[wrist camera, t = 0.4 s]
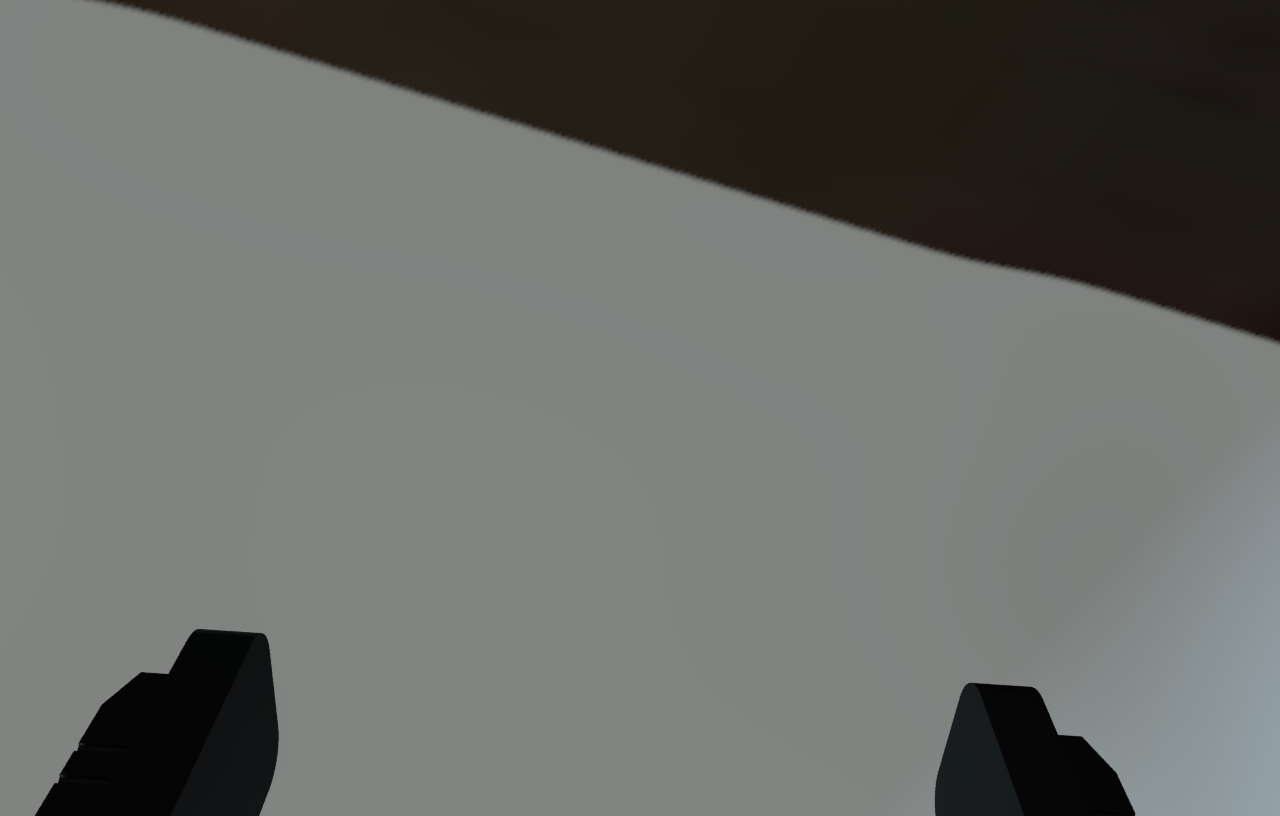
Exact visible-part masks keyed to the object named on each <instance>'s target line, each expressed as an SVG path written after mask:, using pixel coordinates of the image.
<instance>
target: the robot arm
mask: <svg viewBox="0 0 1280 816" xmlns="http://www.w3.org/2000/svg"><path fill="white" fill-rule="evenodd" d="M278 740H279V732H278V721H277V713H276V703H275V694H274V685H273V677H272V667H271V658H270V649H269V643H268V640H267V637H266V636H265V635H264V634H263V633H251V632H236V631H221V630H205V629H197V630H195V631H194V632H193V633H192V634H191V635H190V637H189V638H188V640H187V641H186V643H185V645H184V647H183V649H182V650H181V652H180V654H179V656H178V658H177V659H176V661H175V663H174V665H173V667H172V668H171V670H170V672H169V674H159V673H145V672H141V673H140V674H138V675H137V676H136V677H135V678H133V679H132V680H131V681H130V682H129V683H127V684H126V685H125V686H124V687H123V688H121V689H120V690H119V691H118V692H117V693H115V694H114V695H113V696H112V697H110V698H109V699H108V700H107V701H106V702H105V703H103V704H102V705H101V707H100V709H99V710H98V712H97V714H96V715H95V717H94V718H93V720H92V722H91V723H90V725H89V727H88V729H87V730H86V732H85V733H84V735H83V737H82V738H81V740H80V742H79V747H78V750H77V751H74V752H73V753H72V755H71V757H70V758H69V760H68V762H67V763H66V765H65V767H64V768H63V770H62V772H61V773H60V778H59V781H58V783H54V785H53V787H52V788H51V790H50V791H49V793H48V795H47V796H46V798H45V800H44V801H43V803H42V805H41V806H40V808H39V810H38V811H37V813H36V815H35V816H259V815H260V812H261V809H262V807H263V804H264V802H265V799H266V796H267V794H268V791H269V789H270V785H271V783H272V779H273V775H274V770H275V766H276V761H277V754H278ZM935 814H936V816H1135V812H1134V810H1133V807H1132V805H1131V804H1130V801H1129V799H1128V797H1127V795H1126V793H1125V790H1124V788H1123V786H1122V784H1121V782H1120V780H1119V778H1118V775H1117V773H1116V772H1115V771H1114V770H1113V769H1112V768H1111V767H1110V766H1109V765H1108V764H1107V763H1106V762H1105V760H1104V759H1103V758H1102V757H1101V756H1100V755H1099V754H1098V753H1097V752H1096V751H1095V750H1094V749H1093V748H1092V747H1091V746H1090V745H1089V744H1088V742H1087V741H1086V740H1085V739H1083V737H1080V736H1066V735H1058V734H1057V731H1056V729H1055V727H1054V725H1053V722H1052V720H1051V717H1050V715H1049V712H1048V710H1047V708H1046V705H1045V703H1044V701H1043V698H1042V696H1041V695H1040V693H1039V692H1038V691H1037V690H1036V689H1035V688H1033V687H1025V686H1010V685H994V684H979V683H968V684H967V685H966V686H965V687H964V689H963V690H962V693H961V696H960V699H959V702H958V706H957V709H956V713H955V716H954V719H953V723H952V726H951V730H950V733H949V737H948V740H947V744H946V747H945V750H944V754H943V757H942V761H941V765H940V768H939V771H938V775H937V780H936V788H935Z"/></svg>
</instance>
